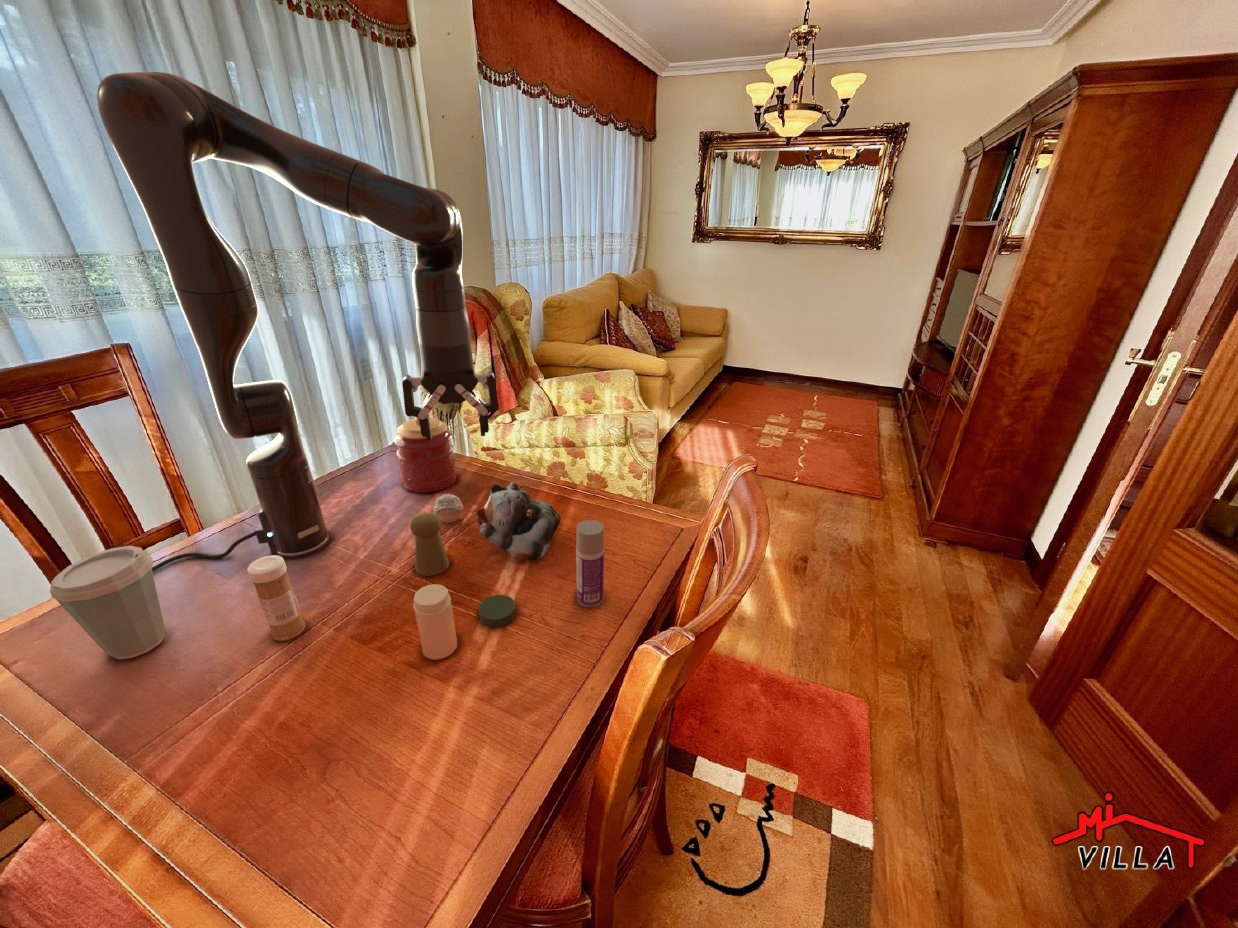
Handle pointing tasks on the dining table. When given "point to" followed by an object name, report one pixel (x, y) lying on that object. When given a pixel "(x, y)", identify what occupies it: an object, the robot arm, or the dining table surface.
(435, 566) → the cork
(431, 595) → the jar
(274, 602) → the sprinkles bottle
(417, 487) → the kitchen canister
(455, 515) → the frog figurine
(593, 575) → the container
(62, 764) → the dining table surface
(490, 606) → the lid
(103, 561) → the disposable coffee cup
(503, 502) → the lucky cat figurine
